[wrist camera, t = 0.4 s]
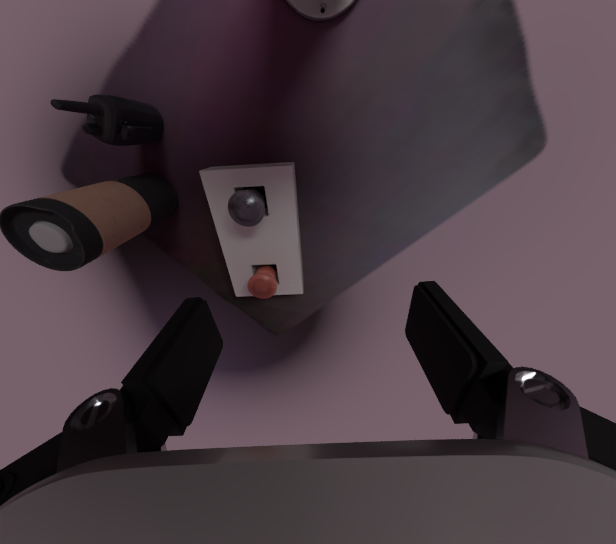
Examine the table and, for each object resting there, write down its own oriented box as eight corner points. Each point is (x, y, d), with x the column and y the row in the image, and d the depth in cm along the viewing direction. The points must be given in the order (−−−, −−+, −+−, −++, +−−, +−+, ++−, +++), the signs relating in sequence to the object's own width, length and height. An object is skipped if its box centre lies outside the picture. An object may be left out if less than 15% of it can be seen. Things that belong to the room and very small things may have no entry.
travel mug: (141, 213, 41) (24, 269, 24) (128, 169, 37) (-24, 198, 20) (183, 217, 41) (97, 275, 24) (175, 174, 37) (65, 208, 20)
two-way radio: (143, 97, 32) (33, 73, 19) (174, 117, 33) (91, 106, 20) (137, 135, 34) (37, 136, 22) (166, 152, 35) (87, 162, 23)
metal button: (232, 185, 34) (223, 192, 30) (265, 183, 34) (260, 190, 30) (240, 218, 37) (232, 227, 33) (270, 216, 37) (266, 225, 33)
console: (211, 166, 37) (198, 170, 32) (294, 161, 36) (292, 165, 32) (242, 282, 49) (236, 296, 45) (303, 280, 49) (303, 293, 45)
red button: (250, 263, 41) (244, 276, 38) (277, 261, 41) (274, 274, 37) (255, 285, 44) (250, 299, 40) (280, 283, 44) (278, 298, 40)
